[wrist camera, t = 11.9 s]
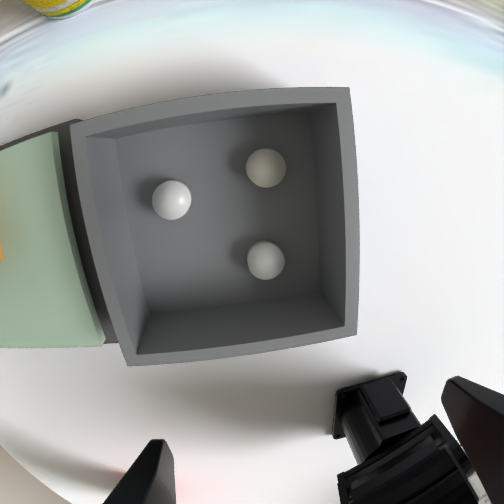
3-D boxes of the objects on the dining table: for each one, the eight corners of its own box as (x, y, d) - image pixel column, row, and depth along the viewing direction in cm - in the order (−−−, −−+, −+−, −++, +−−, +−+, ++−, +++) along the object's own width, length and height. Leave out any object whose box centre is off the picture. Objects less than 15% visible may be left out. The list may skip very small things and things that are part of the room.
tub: (327, 294, 20) (356, 334, 16) (145, 319, 20) (127, 366, 15) (315, 102, 16) (349, 87, 12) (107, 130, 16) (69, 124, 11)
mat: (128, 334, 20) (124, 342, 19) (-10, 339, 19) (-16, 345, 18) (82, 120, 15) (76, 118, 14) (-56, 176, 14) (-64, 178, 14)
